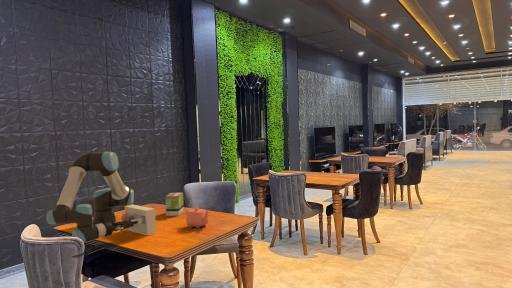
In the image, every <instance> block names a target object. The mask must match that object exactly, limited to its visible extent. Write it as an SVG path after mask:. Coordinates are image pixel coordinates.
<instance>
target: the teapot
mask: <svg viewBox="0 0 512 288" xmlns="http://www.w3.org/2000/svg"><path fill="white" fill-rule="evenodd" d="M209 212H210V210H206V209H202V208H199V207H194V208H193V209H190V210H189V209H186V210H185V214H186V217H185V223H186V226H188V228H193V227H195V229H196V230H197V229H198V230H199V229H200V228H201V227H206V226H207V224H208V223H209Z"/></svg>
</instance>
